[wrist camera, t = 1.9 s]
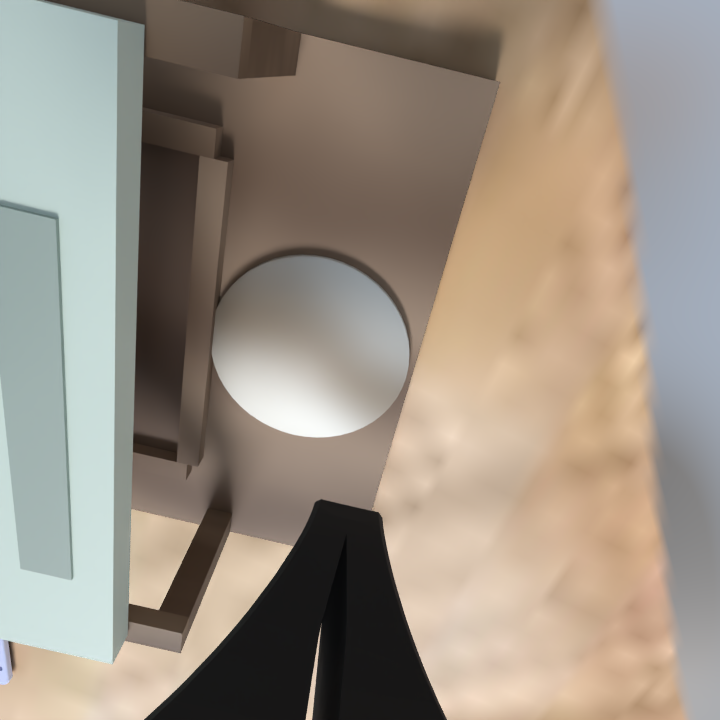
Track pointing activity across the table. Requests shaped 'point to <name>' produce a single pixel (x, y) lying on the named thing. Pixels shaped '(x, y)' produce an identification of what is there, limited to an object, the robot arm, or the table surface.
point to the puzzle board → (279, 271)
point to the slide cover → (67, 323)
